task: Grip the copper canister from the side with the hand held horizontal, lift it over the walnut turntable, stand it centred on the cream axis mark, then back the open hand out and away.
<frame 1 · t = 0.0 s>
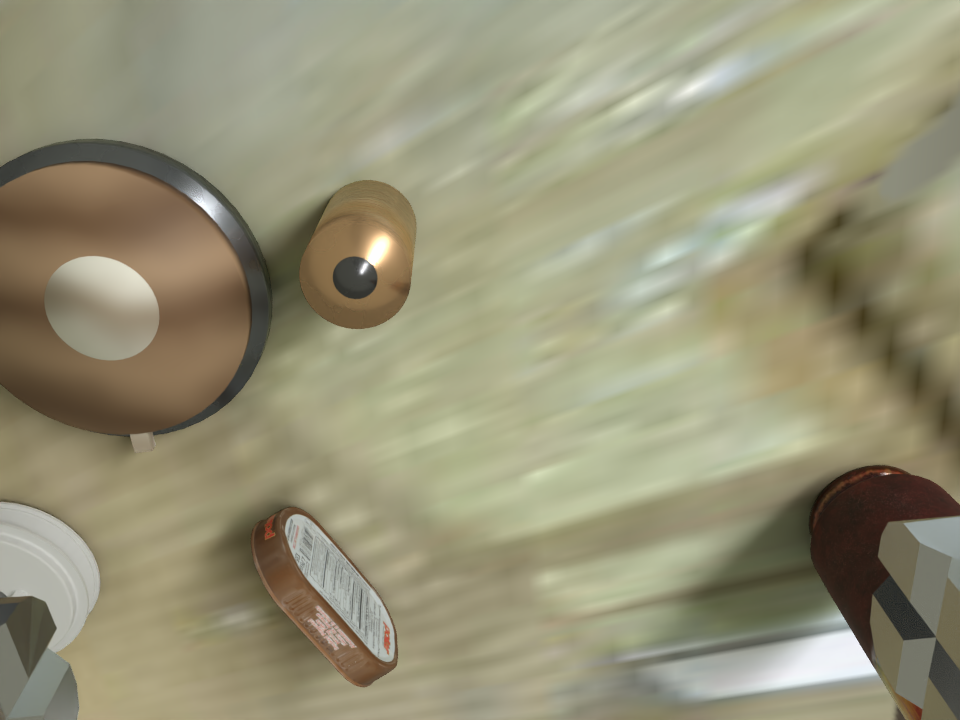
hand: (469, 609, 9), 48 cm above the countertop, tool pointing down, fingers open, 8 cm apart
tin: (336, 558, 67), on the countertop
canister: (369, 226, 56), on the countertop
turntable base: (118, 292, 57), on the countertop
brown bottle: (865, 513, 67), on the countertop
turntable: (109, 316, 55), point 2 cm above the countertop, hinge at 0.0°
lid: (20, 562, 66), on the countertop
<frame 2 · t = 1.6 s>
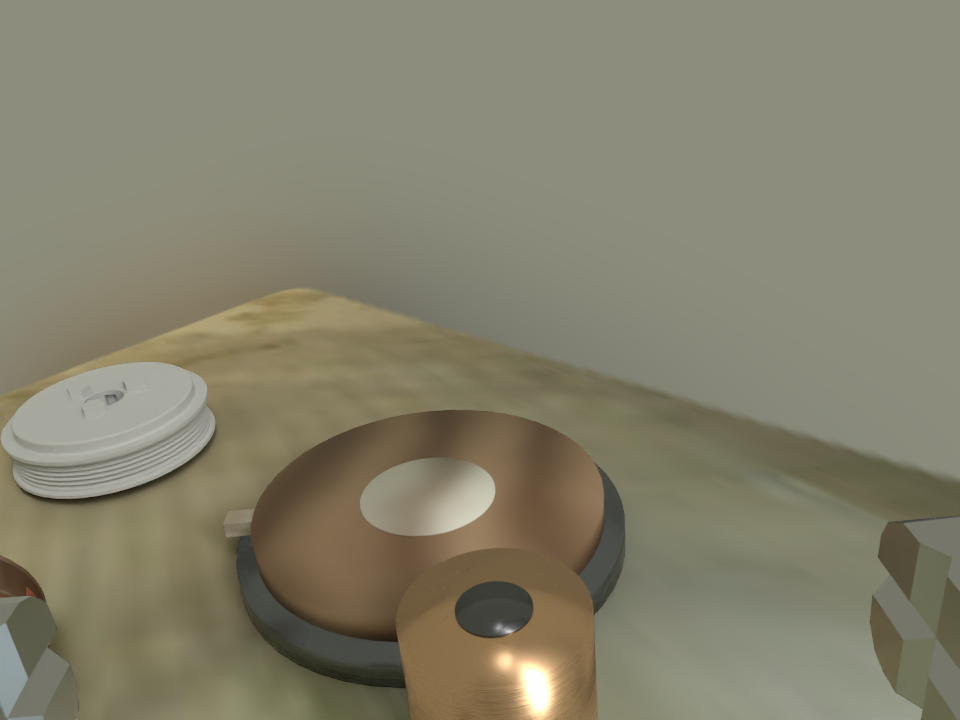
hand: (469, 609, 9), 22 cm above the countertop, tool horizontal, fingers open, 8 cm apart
turntable base: (434, 542, 46), on the countertop
turntable: (414, 507, 45), point 2 cm above the countertop, hinge at 0.0°
lid: (122, 458, 58), on the countertop
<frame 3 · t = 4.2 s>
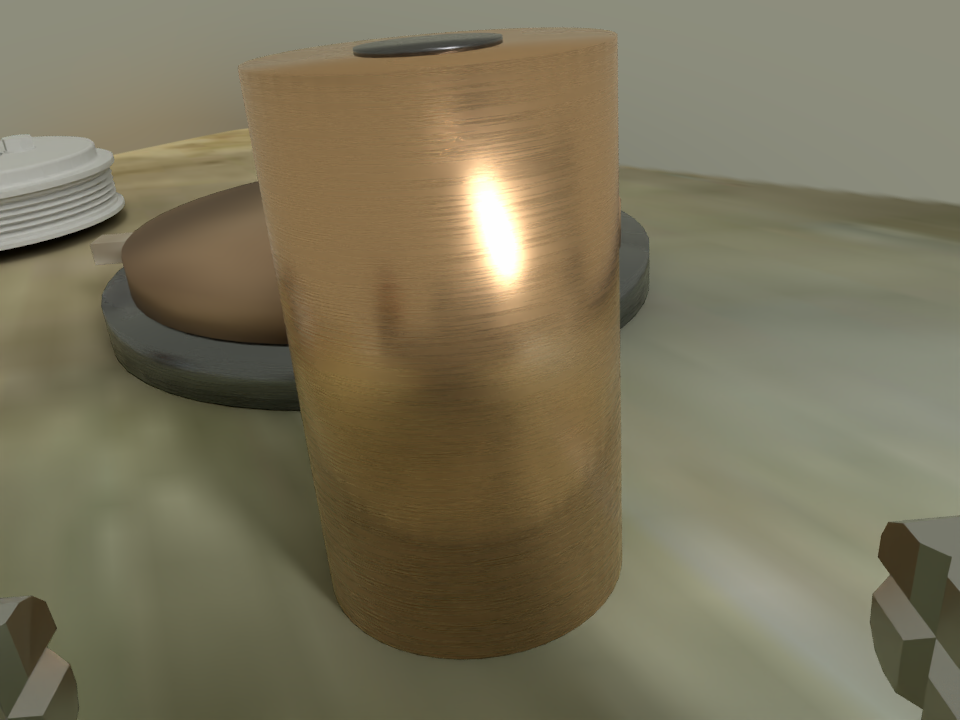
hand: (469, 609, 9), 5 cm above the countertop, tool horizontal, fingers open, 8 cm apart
canister: (476, 553, 18), on the countertop
turntable base: (385, 287, 34), on the countertop
turntable: (358, 230, 33), point 2 cm above the countertop, hinge at 0.0°
lid: (3, 244, 46), on the countertop
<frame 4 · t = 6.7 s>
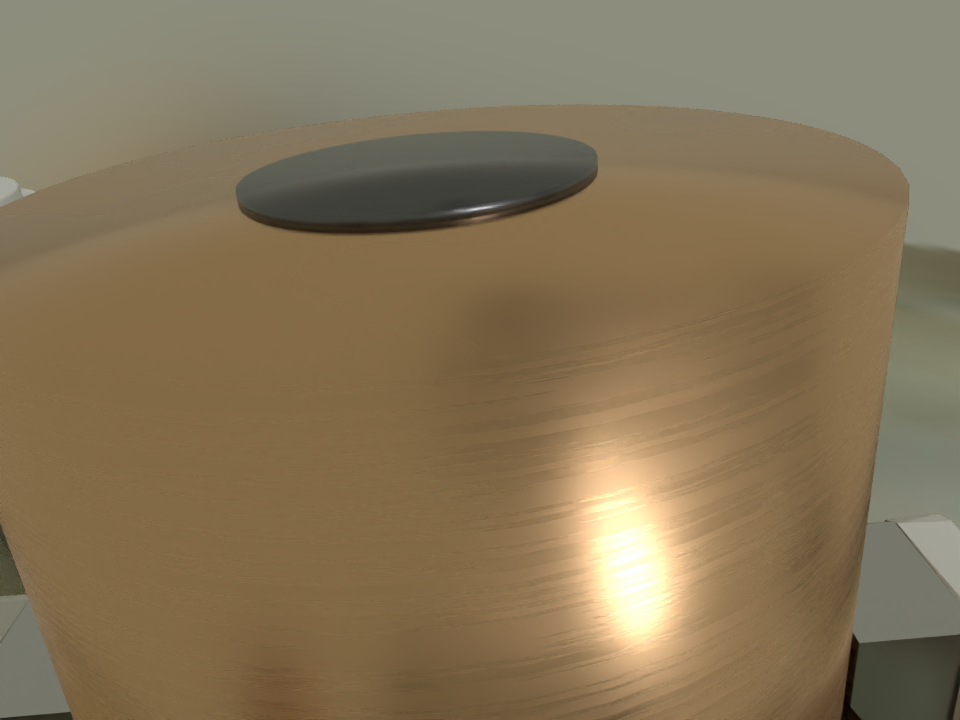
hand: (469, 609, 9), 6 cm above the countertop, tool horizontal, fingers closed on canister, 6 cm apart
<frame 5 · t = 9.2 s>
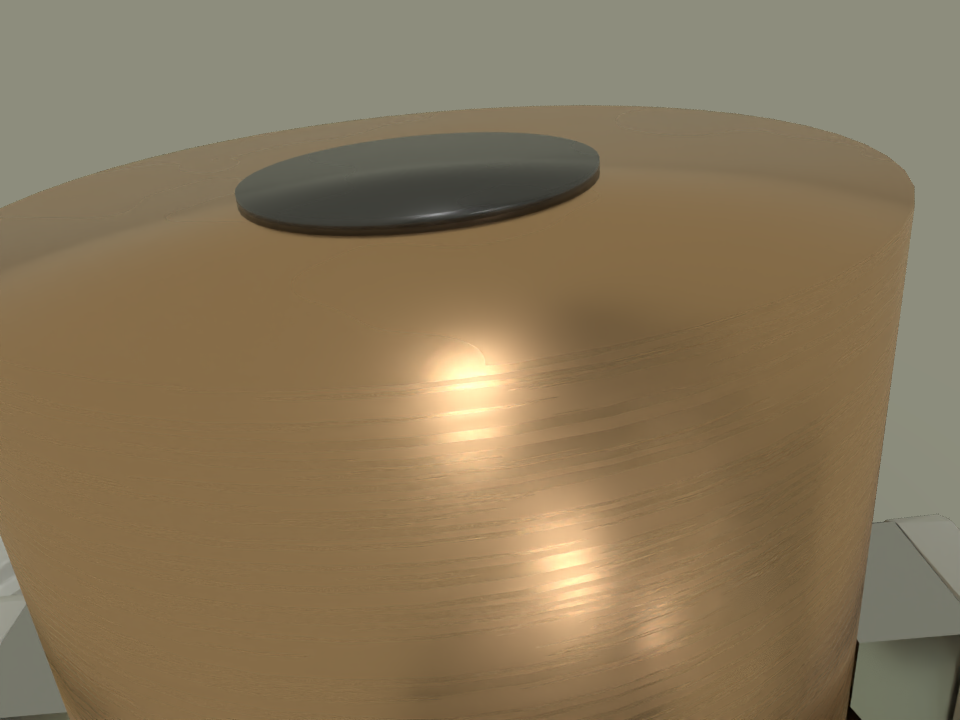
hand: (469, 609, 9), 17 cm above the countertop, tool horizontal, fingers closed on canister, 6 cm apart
when the fingers open (10 cm above the countertop, at t = 12.0 s): canister drops 1 cm, resting on turntable.
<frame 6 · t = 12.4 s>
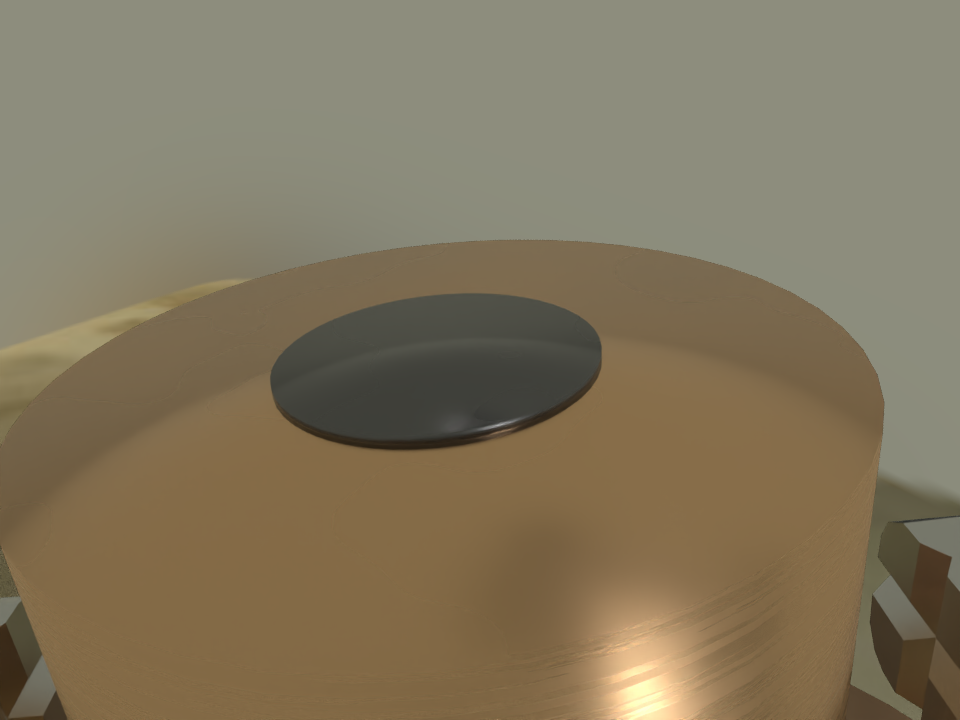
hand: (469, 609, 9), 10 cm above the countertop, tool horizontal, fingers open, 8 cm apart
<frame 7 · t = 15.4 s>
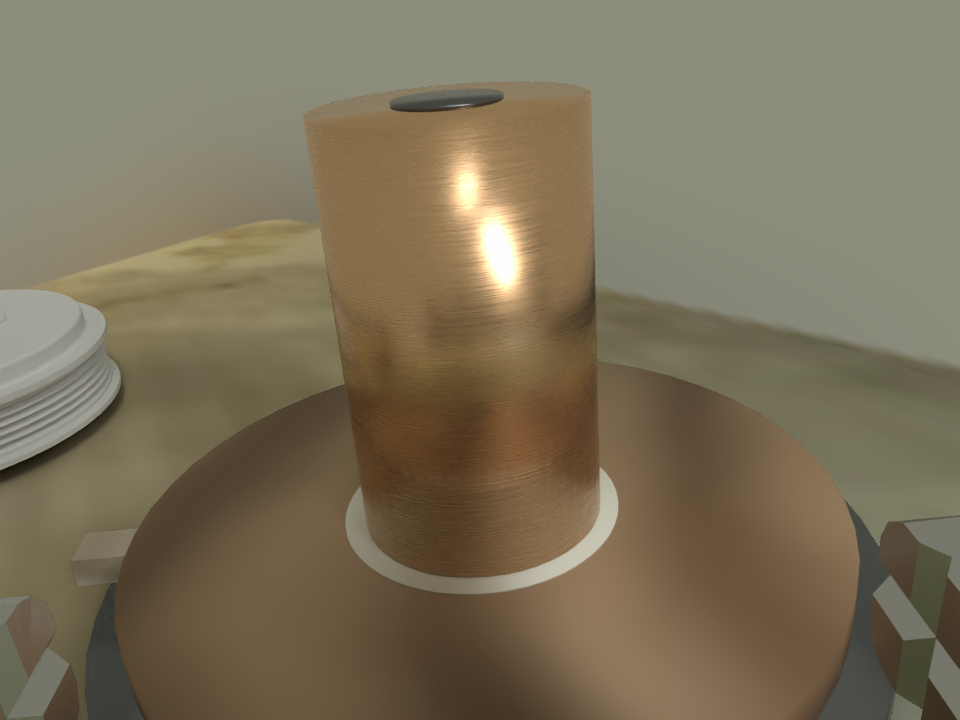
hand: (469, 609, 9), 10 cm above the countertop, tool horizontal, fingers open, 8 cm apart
canister: (482, 502, 22), point 3 cm above the countertop, touching turntable
turntable base: (489, 596, 24), on the countertop
turntable: (454, 528, 23), point 2 cm above the countertop, hinge at 0.0°, touching canister
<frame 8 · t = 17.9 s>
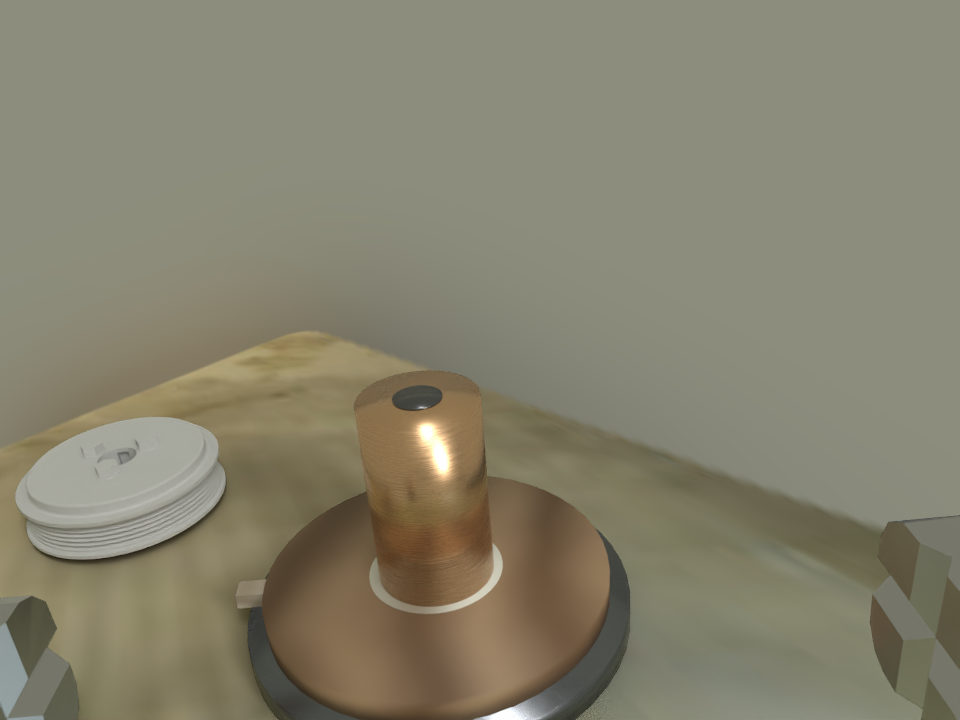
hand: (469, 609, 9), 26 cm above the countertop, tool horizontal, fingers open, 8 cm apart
canister: (436, 567, 45), point 3 cm above the countertop, touching turntable
turntable base: (441, 613, 47), on the countertop
turntable: (423, 579, 46), point 2 cm above the countertop, hinge at 0.0°, touching canister
lid: (134, 514, 59), on the countertop
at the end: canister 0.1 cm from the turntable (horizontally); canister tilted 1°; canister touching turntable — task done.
